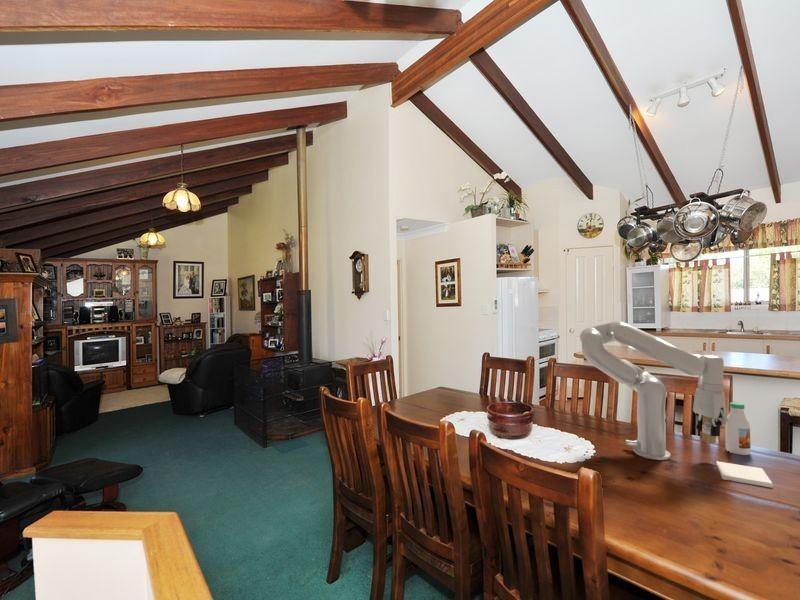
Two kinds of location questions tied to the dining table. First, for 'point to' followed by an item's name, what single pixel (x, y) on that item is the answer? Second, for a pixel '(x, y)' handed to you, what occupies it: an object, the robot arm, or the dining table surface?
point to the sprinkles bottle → (707, 430)
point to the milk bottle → (737, 430)
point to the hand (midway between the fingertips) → (709, 433)
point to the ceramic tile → (744, 474)
